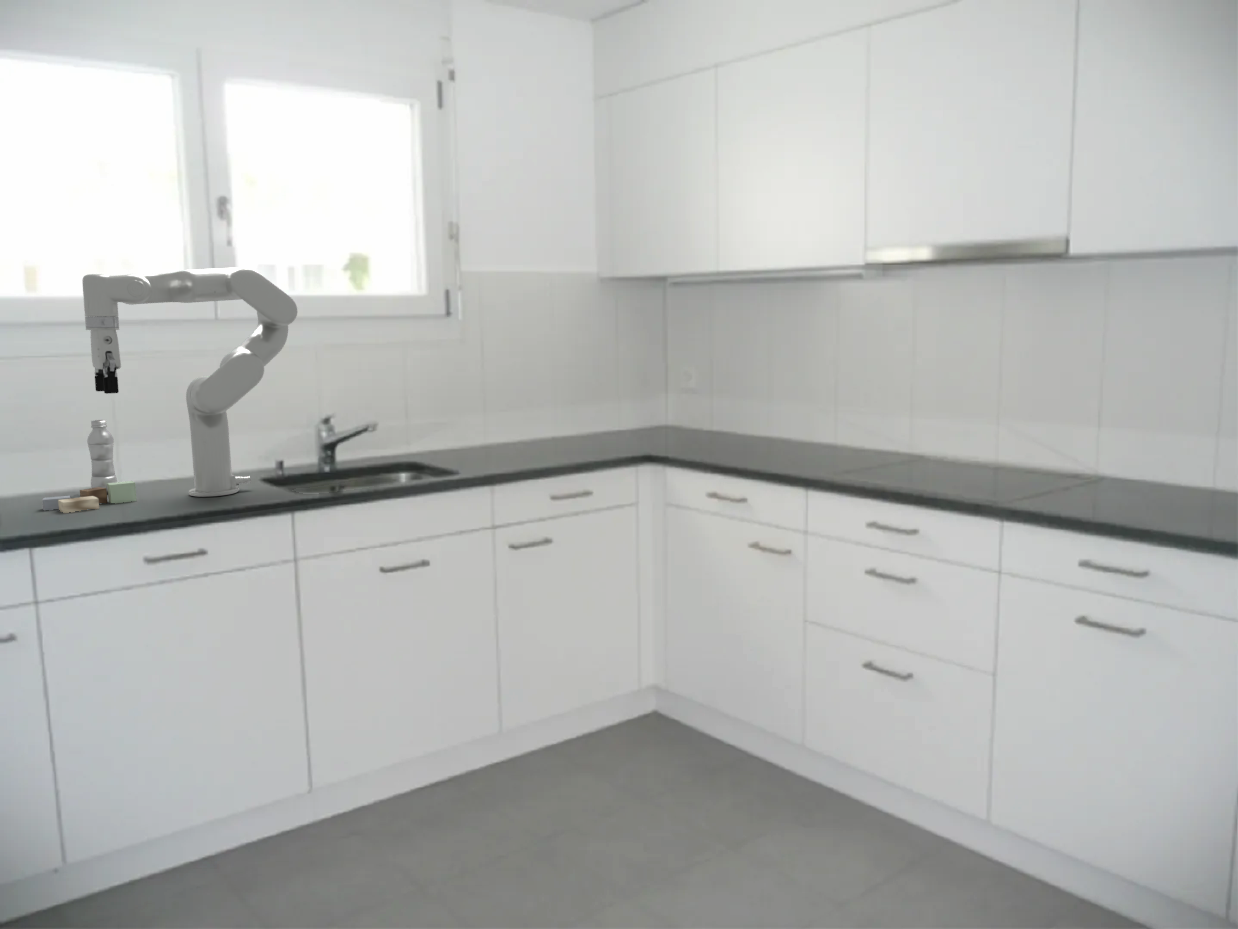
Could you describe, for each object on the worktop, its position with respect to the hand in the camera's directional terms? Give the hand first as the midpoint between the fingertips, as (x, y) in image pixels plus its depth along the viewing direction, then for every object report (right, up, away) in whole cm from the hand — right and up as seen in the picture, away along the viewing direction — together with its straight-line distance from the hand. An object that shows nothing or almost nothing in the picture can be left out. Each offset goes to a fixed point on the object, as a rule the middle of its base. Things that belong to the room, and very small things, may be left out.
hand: (107, 392), depth 254 cm
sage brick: (0, -28, +7) cm, 29 cm away
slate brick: (-12, -30, -1) cm, 32 cm away
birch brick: (-5, -30, -3) cm, 31 cm away
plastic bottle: (-11, -26, +20) cm, 35 cm away
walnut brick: (-5, -29, +4) cm, 29 cm away
